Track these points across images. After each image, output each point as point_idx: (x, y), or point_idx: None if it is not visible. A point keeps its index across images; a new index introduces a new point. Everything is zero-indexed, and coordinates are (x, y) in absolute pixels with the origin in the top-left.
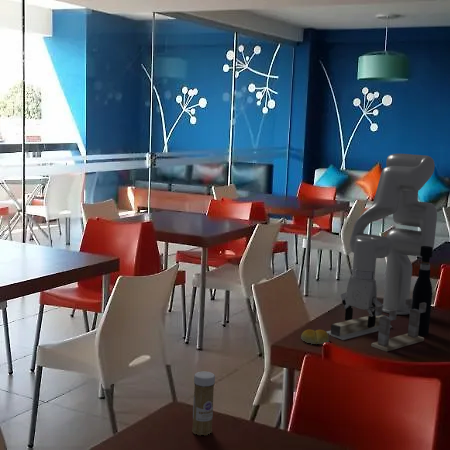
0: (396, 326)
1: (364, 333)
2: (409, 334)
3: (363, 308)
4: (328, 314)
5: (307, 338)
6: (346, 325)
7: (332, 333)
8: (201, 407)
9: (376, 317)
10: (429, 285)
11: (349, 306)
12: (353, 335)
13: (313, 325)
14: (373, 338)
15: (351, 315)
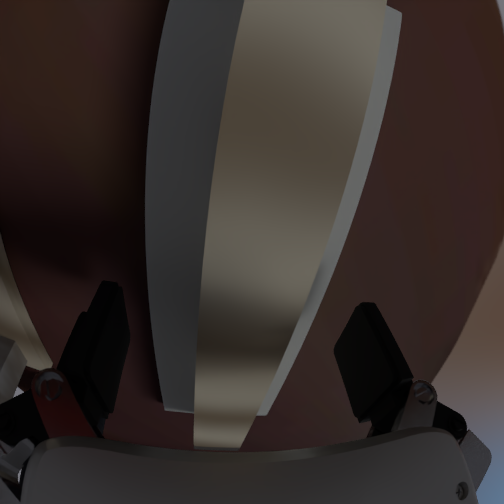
0: (167, 416)
1: (147, 237)
2: (5, 346)
3: (96, 457)
4: (447, 346)
5: None
6: (234, 51)
7: None
8: None
9: (199, 424)
10: None
11: (391, 421)
12: (157, 92)
13: (495, 157)
14: (62, 212)
15: (346, 366)
